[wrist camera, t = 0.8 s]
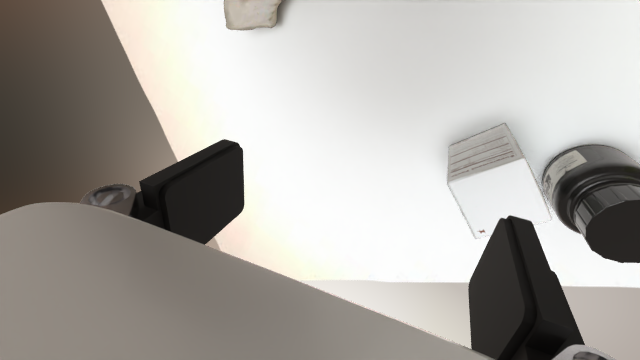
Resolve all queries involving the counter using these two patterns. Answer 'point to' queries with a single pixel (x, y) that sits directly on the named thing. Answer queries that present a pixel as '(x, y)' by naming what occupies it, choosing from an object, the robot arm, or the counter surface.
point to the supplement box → (493, 181)
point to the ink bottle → (598, 199)
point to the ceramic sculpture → (250, 13)
